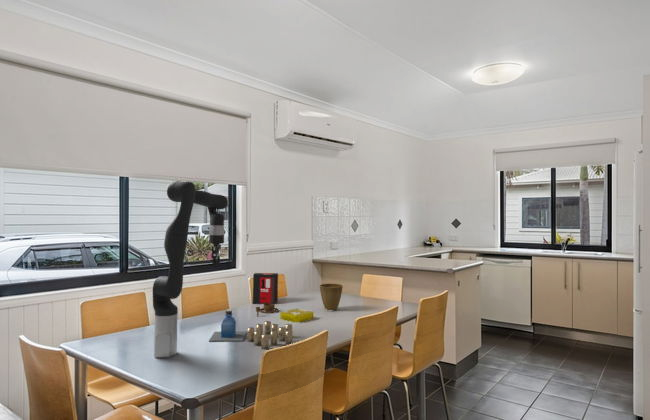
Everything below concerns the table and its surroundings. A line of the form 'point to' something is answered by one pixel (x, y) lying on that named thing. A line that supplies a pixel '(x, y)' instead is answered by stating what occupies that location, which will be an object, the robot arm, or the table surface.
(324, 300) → the plant pot
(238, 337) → the mat
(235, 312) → the table surface
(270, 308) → the brown piece
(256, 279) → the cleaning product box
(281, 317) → the element tile
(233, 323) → the perfume bottle
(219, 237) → the robot arm
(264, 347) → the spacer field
